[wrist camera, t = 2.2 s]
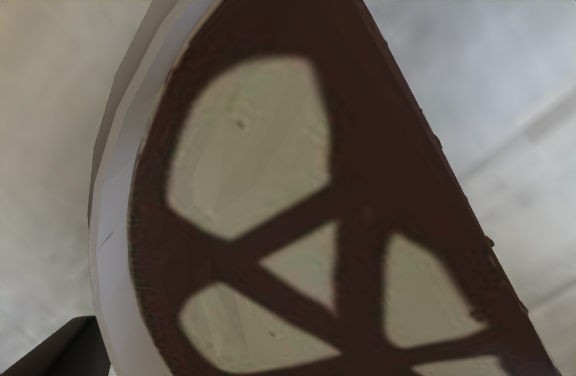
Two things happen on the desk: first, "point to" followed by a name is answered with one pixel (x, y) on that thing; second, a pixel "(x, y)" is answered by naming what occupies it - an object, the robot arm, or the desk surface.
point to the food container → (287, 208)
